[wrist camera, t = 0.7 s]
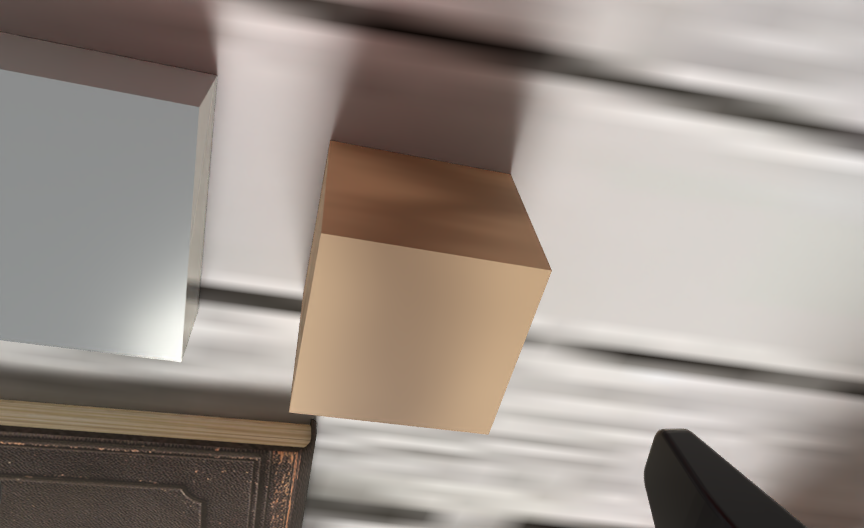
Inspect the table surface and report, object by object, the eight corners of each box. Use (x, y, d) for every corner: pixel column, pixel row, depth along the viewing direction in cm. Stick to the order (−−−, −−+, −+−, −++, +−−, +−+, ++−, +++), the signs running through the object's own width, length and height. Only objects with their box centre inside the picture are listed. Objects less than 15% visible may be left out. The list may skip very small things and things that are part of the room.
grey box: (217, 75, 19) (199, 107, 17) (197, 312, 23) (181, 362, 21) (-116, 8, 17) (-183, 34, 15) (-75, 275, 21) (-122, 325, 19)
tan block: (510, 173, 21) (551, 270, 17) (463, 316, 24) (488, 434, 19) (330, 139, 20) (321, 233, 16) (303, 293, 23) (289, 412, 18)
